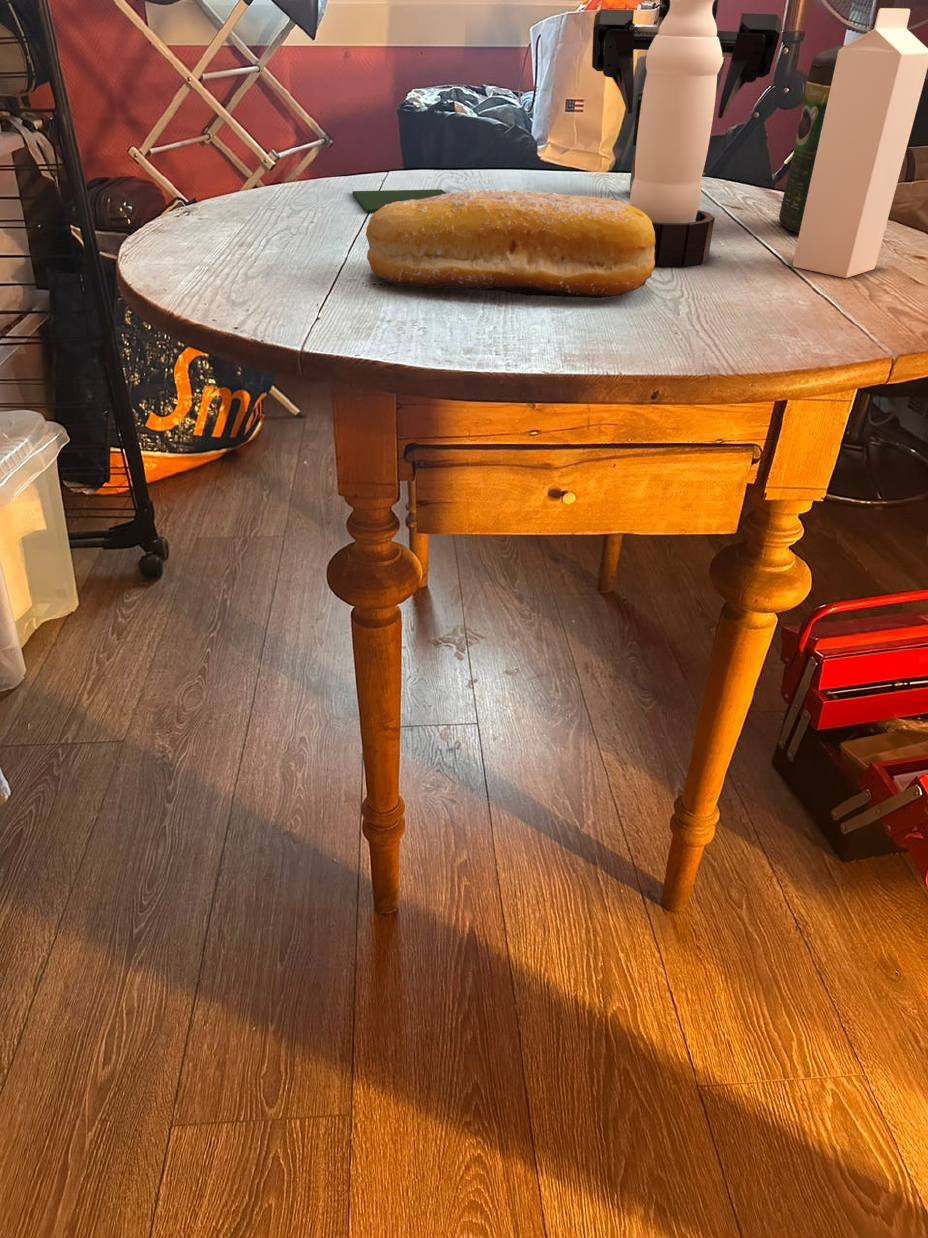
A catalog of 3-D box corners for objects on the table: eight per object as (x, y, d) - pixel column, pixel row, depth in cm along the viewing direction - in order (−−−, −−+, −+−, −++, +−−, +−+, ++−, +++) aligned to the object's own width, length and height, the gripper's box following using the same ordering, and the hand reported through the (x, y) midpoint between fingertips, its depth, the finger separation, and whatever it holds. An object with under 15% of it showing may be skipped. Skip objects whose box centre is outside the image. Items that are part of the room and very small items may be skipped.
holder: (691, 243, 101) (698, 204, 99) (719, 267, 93) (726, 224, 90) (600, 243, 100) (604, 203, 98) (619, 266, 92) (624, 223, 90)
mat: (441, 192, 123) (441, 189, 123) (462, 210, 113) (463, 206, 113) (352, 194, 121) (352, 190, 120) (366, 212, 111) (366, 209, 111)
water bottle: (691, 265, 93) (739, -39, 79) (621, 260, 94) (655, -41, 80) (691, 249, 99) (735, -37, 85) (625, 244, 100) (658, -39, 86)
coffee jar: (861, 240, 105) (910, 48, 94) (791, 237, 105) (832, 45, 94) (835, 222, 113) (877, 43, 102) (770, 220, 113) (806, 41, 102)
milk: (874, 269, 93) (945, 9, 81) (845, 279, 90) (914, 8, 77) (820, 257, 97) (880, 7, 85) (790, 266, 94) (847, 6, 81)
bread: (656, 312, 79) (670, 212, 75) (353, 296, 81) (348, 198, 76) (647, 272, 90) (658, 183, 86) (380, 260, 92) (377, 172, 87)
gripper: (604, -90, 91) (585, 46, 88) (799, -87, 88) (786, 53, 85) (600, 5, 102) (583, 130, 99) (774, 11, 99) (762, 138, 96)
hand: (675, 112), depth 94 cm, fingers open, 9 cm apart
